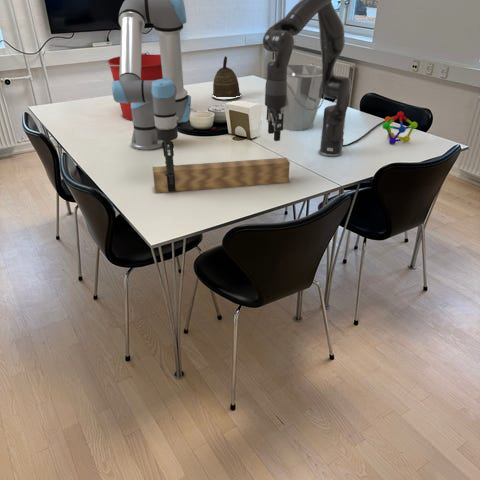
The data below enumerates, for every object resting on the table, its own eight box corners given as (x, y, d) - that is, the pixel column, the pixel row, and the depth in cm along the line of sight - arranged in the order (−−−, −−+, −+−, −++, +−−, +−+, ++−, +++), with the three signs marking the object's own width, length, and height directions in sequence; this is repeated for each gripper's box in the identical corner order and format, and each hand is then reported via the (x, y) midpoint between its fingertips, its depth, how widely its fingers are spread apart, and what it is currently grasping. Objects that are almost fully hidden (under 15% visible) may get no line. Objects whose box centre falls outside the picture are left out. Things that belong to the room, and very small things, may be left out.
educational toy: (377, 146, 209) (379, 114, 202) (384, 138, 219) (386, 107, 211) (411, 149, 202) (415, 116, 195) (417, 141, 212) (420, 109, 204)
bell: (227, 105, 294) (202, 96, 282) (238, 66, 289) (213, 55, 277) (243, 108, 280) (217, 98, 268) (255, 66, 275) (229, 55, 263)
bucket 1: (122, 105, 263) (114, 51, 248) (180, 106, 263) (177, 52, 247) (105, 123, 234) (95, 63, 218) (171, 124, 233) (166, 64, 217)
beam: (155, 193, 164) (153, 172, 159) (154, 187, 168) (152, 166, 163) (288, 182, 172) (289, 162, 168) (284, 177, 176) (286, 157, 172)
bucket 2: (296, 138, 215) (301, 78, 201) (255, 124, 234) (256, 68, 219) (335, 125, 232) (342, 70, 217) (294, 113, 251) (297, 61, 236)
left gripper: (179, 134, 147) (183, 197, 160) (175, 118, 162) (179, 177, 175) (156, 136, 146) (162, 199, 158) (154, 119, 161) (160, 178, 173)
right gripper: (292, 96, 150) (289, 142, 158) (280, 86, 162) (278, 130, 170) (270, 97, 149) (268, 144, 157) (260, 87, 160) (259, 131, 169)
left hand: (171, 187), depth 166 cm, fingers closed on beam, 5 cm apart
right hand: (273, 136), depth 164 cm, fingers open, 8 cm apart
